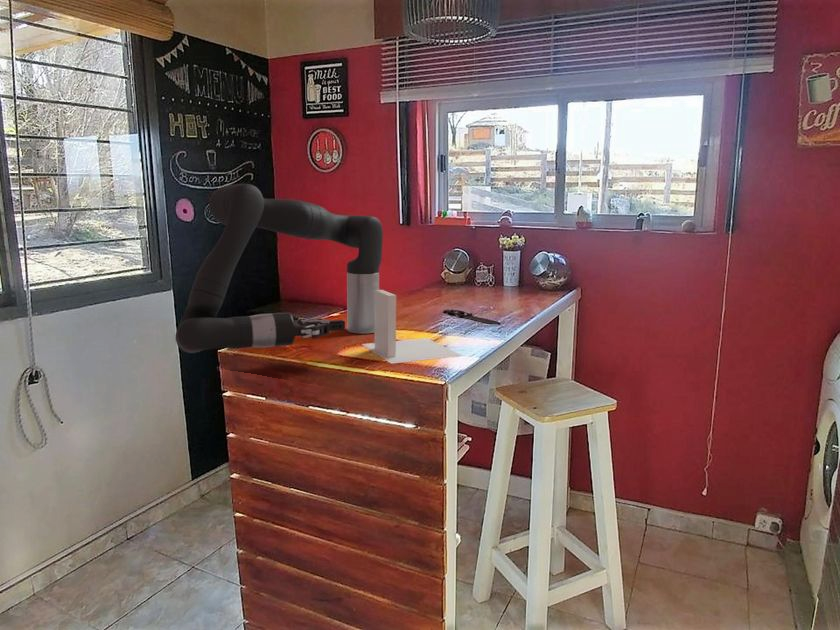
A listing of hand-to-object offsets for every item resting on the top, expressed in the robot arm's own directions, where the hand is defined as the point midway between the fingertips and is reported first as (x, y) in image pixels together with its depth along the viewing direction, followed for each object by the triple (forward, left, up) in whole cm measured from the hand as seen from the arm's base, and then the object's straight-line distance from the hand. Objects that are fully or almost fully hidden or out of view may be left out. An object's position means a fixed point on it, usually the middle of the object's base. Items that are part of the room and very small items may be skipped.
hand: (343, 324), depth 144 cm
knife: (-33, +55, -9) cm, 65 cm away
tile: (0, +11, -8) cm, 13 cm away
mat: (0, +18, -9) cm, 20 cm away
